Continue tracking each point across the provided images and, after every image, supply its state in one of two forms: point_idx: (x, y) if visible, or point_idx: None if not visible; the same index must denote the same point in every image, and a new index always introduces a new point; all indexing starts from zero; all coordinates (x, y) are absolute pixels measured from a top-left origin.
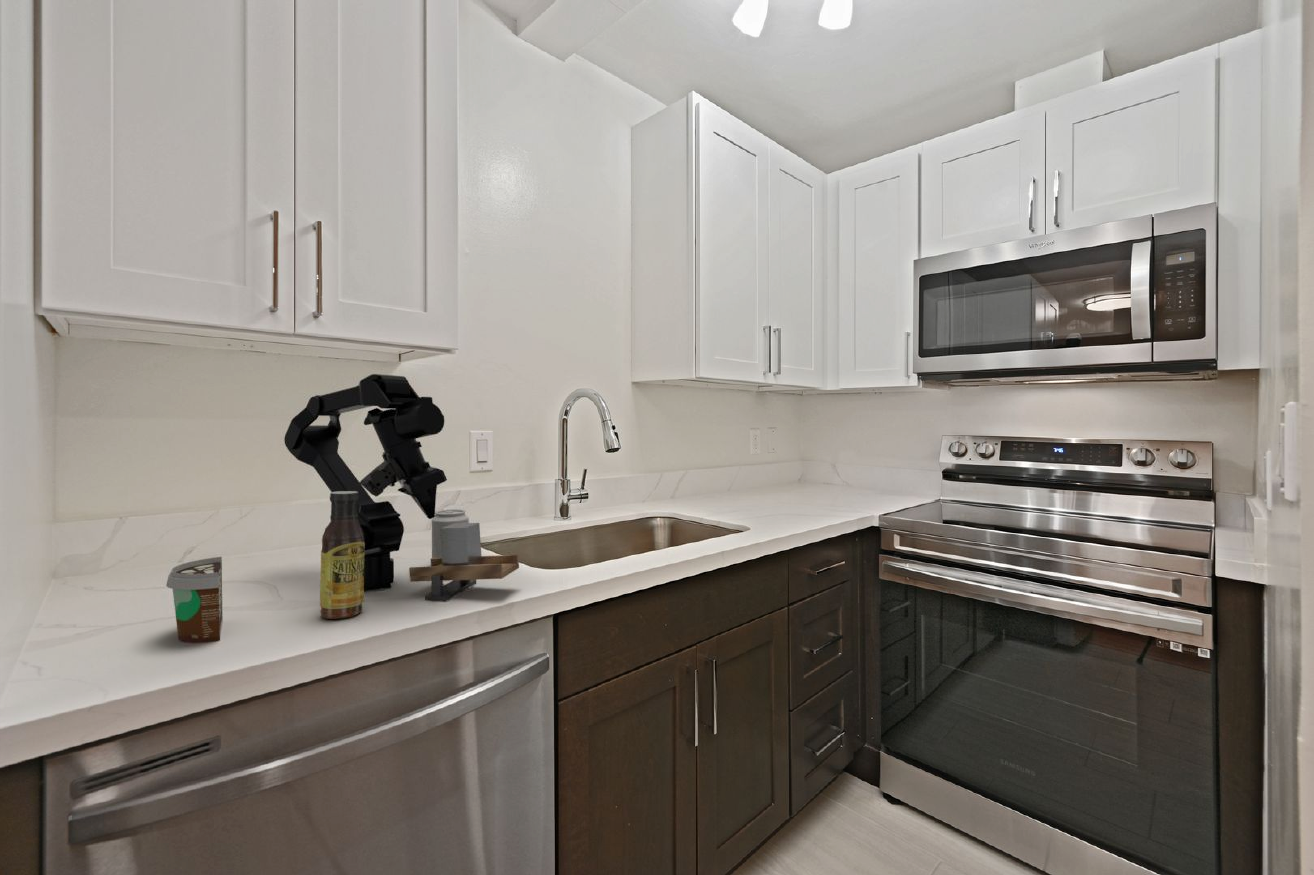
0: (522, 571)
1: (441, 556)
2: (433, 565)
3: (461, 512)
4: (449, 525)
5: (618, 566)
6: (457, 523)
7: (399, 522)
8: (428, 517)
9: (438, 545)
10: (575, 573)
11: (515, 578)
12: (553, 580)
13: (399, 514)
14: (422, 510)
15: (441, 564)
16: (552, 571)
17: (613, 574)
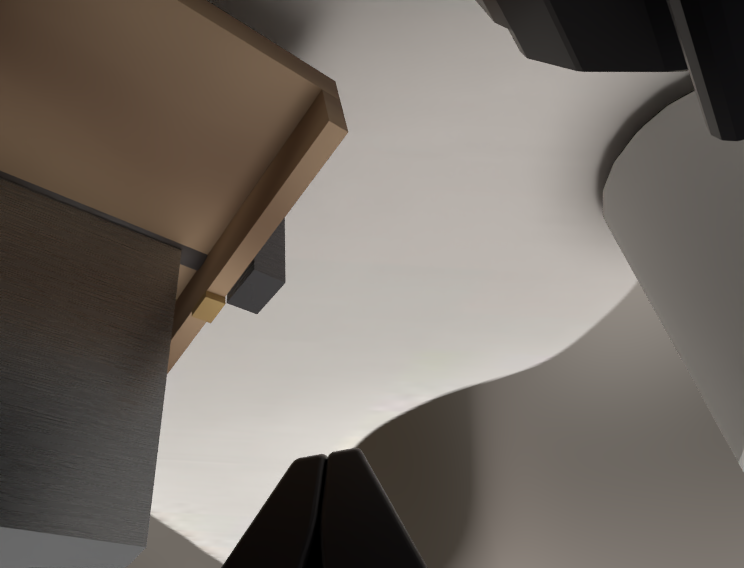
0: (379, 388)
1: (680, 160)
2: (309, 110)
3: None
4: (14, 533)
5: None
6: (127, 561)
7: (550, 13)
8: (285, 476)
9: (742, 195)
10: (269, 485)
11: (278, 365)
12: (199, 444)
13: (723, 123)
14: (350, 553)
15: (271, 167)
16: (327, 449)
17: (218, 536)
